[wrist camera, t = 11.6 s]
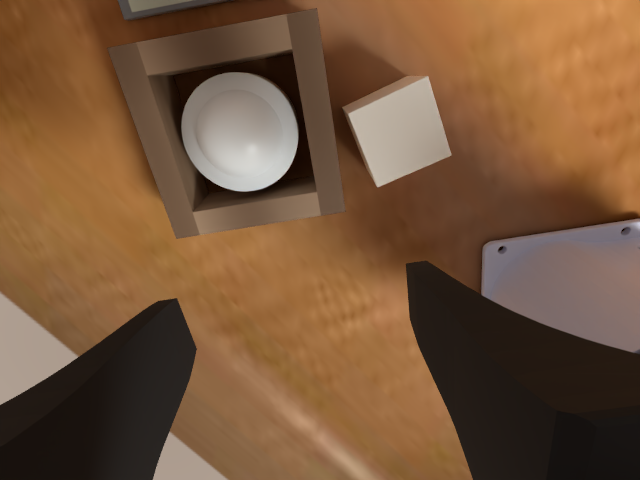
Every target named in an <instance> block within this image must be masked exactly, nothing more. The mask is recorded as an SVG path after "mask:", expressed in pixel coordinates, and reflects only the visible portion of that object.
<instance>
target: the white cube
mask: <svg viewBox="0 0 640 480" xmlns="http://www.w3.org/2000/svg"><path fill="white" fill-rule="evenodd" d="M342 109H343V111H344V114H345V116H346V119H347V121H348V124H349V126H350V129H351V131H352V134H353V136H354V139H355V141H356V144H357V146H358V148H359V151H360V153H361V156H362V158H363V161H364V163H365V166H366V168H367V170H368V172H369V174H370V176H371V177H372V179H373V181H374V183H375V184H376V186H377V188H378V187H380V186H382V185H385V184H387V183H389V182H392V181H394V180H396V179H398V178H401V177H403V176H405V175H408V174H410V173H412V172H415V171H417V170H419V169H421V168H424V167H426V166H428V165H431V164H433V163H435V162H438V161H440V160H442V159H444V158H447V157H449V156H451V151H450V148H449V145H448V141H447V138H446V135H445V131H444V128H443V125H442V121H441V118H440V115H439V111H438V108H437V104H436V101H435V98H434V94H433V91H432V88H431V84H430V81H429V78H428V76H406V77H404V78H402V79H400V80H398V81H396V82H394V83H392V84H389V85H387V86H385V87H383V88H381V89H379V90H377V91H375V92H373V93H371V94H369V95H366V96H364V97H362V98H360V99H358V100H356V101H354V102H352V103H350V104H348V105H346V106H344V107H342Z"/></svg>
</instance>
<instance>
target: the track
mask: <svg viewBox="0 0 640 480" xmlns="http://www.w3.org/2000/svg"><path fill="white" fill-rule="evenodd" d="M228 1H233V0H118V2H119V5H120V8H121V11H122V14H123V17H124V19H125V20H128V21H129V20H134V19H139V18H144V17H150V16H155V15H160V14H165V13H170V12H176V11H181V10H186V9H191V8H196V7H202V6H207V5H212V4H217V3H222V2H228Z"/></svg>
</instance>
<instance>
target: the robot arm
mask: <svg viewBox="0 0 640 480" xmlns="http://www.w3.org/2000/svg"><path fill="white" fill-rule="evenodd" d="M624 228H625V229H624ZM623 229H624V231H623V232H621V231H622V230H623ZM501 246H504V247H503V249H502V250H500V251H498V249H499V248H500V247H501ZM406 272H407V286H408V300H409V314H410V321H411V324H412V327H413V330H414V334H415V337H416V340H417V343H418V346H419V348H420V351H421V353H422V355H423V357H424V359H425V362H426V364H427V366H428V368H429V370H430V372H431V375H432V377H433V379H434V381H435V383H436V385H437V388H438V390H439V392H440V394H441V396H442V398H443V400H444V403H445V405H446V407H447V409H448V411H449V414H450V416H451V419H452V421H453V423H454V426H455V428H456V431H457V434H458V437H459V440H460V443H461V446H462V448H463V451H464V454H465V457H466V460H467V463H468V466H469V469H470V472H471V475H472V478H473V480H640V219H633V220H627V221H620V222H614V223H607V224H600V225H594V226H587V227H581V228H574V229H568V230H561V231H555V232H548V233H541V234H535V235H528V236H522V237H515V238H509V239H502V240H496V241H490V242H488V243H486V244H485V245H484V247H483V252H482V286H481V294H479V293H477V292H475V291H474V290H472V289H470V288H469V287H467V286H465V285H464V284H462V283H460V282H459V281H457V280H456V279H454V278H452V277H451V276H449V275H448V274H446V273H445V272H443V271H442V270H440V269H439V268H437V267H435V266H434V265H432V264H431V263H429V262H428V261H420V262H414V263H407V264H406ZM196 350H197V348H196V346H195V343H194V341H193V338H192V336H191V333H190V331H189V328H188V325H187V323H186V320H185V318H184V315H183V313H182V310H181V308H180V305H179V303H178V300H177V298H176V299H169V300H162V301H158V302H156V303H154V304H152V305H151V306H149V307H148V308H146V309H145V310H143V311H142V312H141V313H139V314H138V315H136V316H135V317H134V318H132V319H131V320H129V321H128V322H127V323H125V324H124V325H123V326H121V327H120V328H119V329H117V330H116V331H115V332H113V333H112V334H111V335H109V336H108V337H106V338H105V339H104V340H102V341H101V342H100V343H98V344H97V345H95V346H94V347H92V348H91V349H90V350H88V351H87V352H85V353H84V354H82V355H81V356H80V357H78V358H77V359H75V360H74V361H72V362H71V363H70V364H68V365H67V366H65V367H64V368H62V369H61V370H59V371H58V372H56V373H54V374H53V375H51V376H50V377H48V378H47V379H45V380H43V381H42V382H40V383H38V384H37V385H35V386H33V387H32V388H30V389H28V390H27V391H25V392H23V393H21V394H20V395H18V396H16V397H14V398H13V399H11V400H9V401H7V402H5V403H3V404H1V405H0V480H153V476H154V473H155V469H156V466H157V463H158V460H159V457H160V454H161V451H162V449H163V446H164V443H165V441H166V438H167V436H168V433H169V431H170V428H171V426H172V423H173V421H174V418H175V416H176V413H177V411H178V408H179V406H180V403H181V400H182V398H183V395H184V393H185V390H186V387H187V385H188V382H189V379H190V376H191V372H192V368H193V364H194V359H195V354H196Z"/></svg>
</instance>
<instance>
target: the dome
mask: <svg viewBox="0 0 640 480" xmlns="http://www.w3.org/2000/svg"><path fill="white" fill-rule="evenodd" d="M181 130H182V138H183V142H184V146H185V149H186V151H187V154H188V155H189V157H190V159H191V161H192V162H193V164H194V165H195V167H196V168H197V169H198V170H199V171H200V172H201V173H202V174H203V175H204V176H205V177H206V178H208V179H209V180H210V181H212V182H213V183H215V184H217V185H219V186H221V187H224V188H226V189H230V190H234V191H255V190H259V189H263V188H265V187H268V186H269V185H271V184H273V183H275V182H276V181H277V180H279V179H280V178H281V177H282V176H283V175H284V174H285V173H286V171H287V170H288V169H289V167H290V165H291V164H292V162H293V159H294V157H295V154H296V150H297V145H298V140H299V121H298V117H297V113H296V111H295V108H294V106H293V104H292V102H291V100H290V99H289V97H288V96H287V94H286V93H285V92H284V91H283V90H282V89H281V88H280V87H279V86H278V85H276V84H275V83H274V82H272V81H271V80H269V79H267V78H265V77H263V76H260V75H257V74H252V73H241V72H230V73H223V74H219V75H216V76H214V77H211V78H209V79H208V80H206V81H204V82H203V83H202V84H200V85H199V86H198V87H197V88H196V89H195V90H194V92H193V93H192V94H191V96H190V97H189V99H188V101H187V103H186V105H185V108H184V111H183V115H182V124H181Z"/></svg>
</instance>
